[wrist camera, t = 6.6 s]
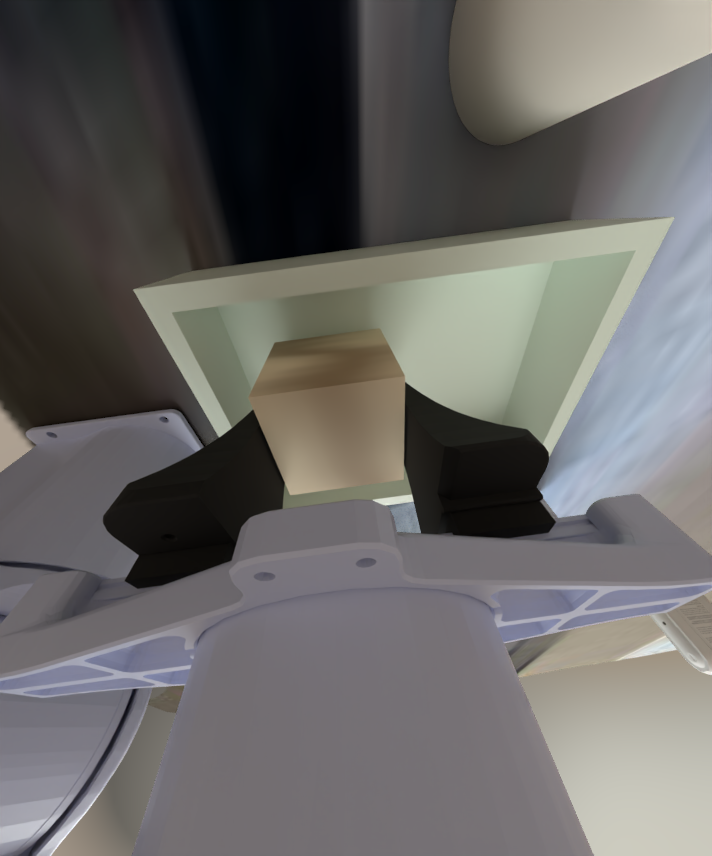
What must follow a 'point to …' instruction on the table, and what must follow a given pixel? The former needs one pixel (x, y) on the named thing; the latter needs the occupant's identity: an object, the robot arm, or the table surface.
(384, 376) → the oak cube
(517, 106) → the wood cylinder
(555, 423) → the tote
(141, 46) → the table surface
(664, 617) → the white rounded block
